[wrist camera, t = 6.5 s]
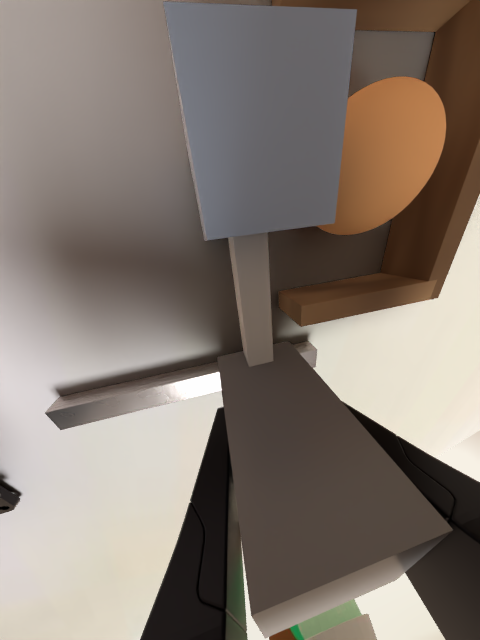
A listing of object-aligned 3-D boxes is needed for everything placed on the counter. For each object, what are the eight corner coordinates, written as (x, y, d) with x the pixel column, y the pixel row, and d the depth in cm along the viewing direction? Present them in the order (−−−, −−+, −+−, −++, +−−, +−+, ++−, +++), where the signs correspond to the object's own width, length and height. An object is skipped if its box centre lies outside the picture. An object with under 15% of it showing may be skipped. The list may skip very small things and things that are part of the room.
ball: (443, 229, 5) (399, 226, 8) (538, -42, 3) (432, 97, 6) (290, 244, 6) (305, 237, 10) (291, 82, 5) (309, 139, 8)
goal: (278, 307, 10) (300, 326, 8) (271, -26, 5) (322, -222, 3) (390, 286, 11) (437, 297, 9) (469, -13, 6) (618, -155, 4)
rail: (72, 413, 10) (60, 429, 9) (59, 397, 10) (44, 412, 9) (307, 357, 12) (315, 367, 11) (308, 340, 12) (317, 349, 11)
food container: (336, 502, 25) (410, 645, 16) (308, 523, 27) (362, 666, 18) (274, 497, 20) (331, 696, 12) (245, 524, 22) (275, 718, 13)
